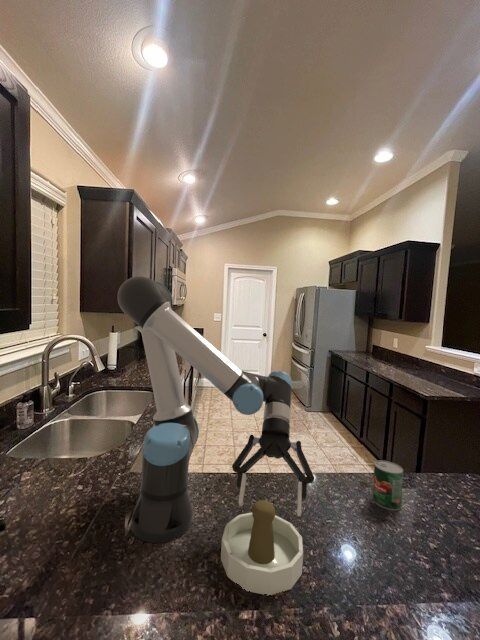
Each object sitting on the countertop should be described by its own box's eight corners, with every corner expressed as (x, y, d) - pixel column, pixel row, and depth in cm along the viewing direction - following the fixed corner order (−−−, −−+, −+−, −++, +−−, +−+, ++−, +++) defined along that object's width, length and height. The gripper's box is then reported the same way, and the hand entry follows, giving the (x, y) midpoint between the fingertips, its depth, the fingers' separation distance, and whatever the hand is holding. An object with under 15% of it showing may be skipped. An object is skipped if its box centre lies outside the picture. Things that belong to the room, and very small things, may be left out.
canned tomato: (404, 503, 91) (406, 467, 91) (397, 514, 85) (399, 476, 85) (377, 491, 96) (379, 457, 96) (368, 501, 90) (370, 465, 90)
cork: (273, 566, 63) (276, 515, 63) (245, 560, 64) (248, 510, 64) (275, 545, 69) (278, 498, 69) (250, 540, 70) (252, 494, 70)
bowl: (213, 584, 59) (214, 562, 59) (230, 525, 76) (231, 507, 76) (303, 602, 56) (305, 578, 56) (299, 536, 74) (300, 518, 74)
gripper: (320, 433, 84) (322, 522, 69) (234, 423, 88) (219, 504, 73) (323, 421, 78) (327, 515, 64) (231, 411, 83) (214, 496, 68)
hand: (269, 509), depth 69 cm, fingers open, 13 cm apart
